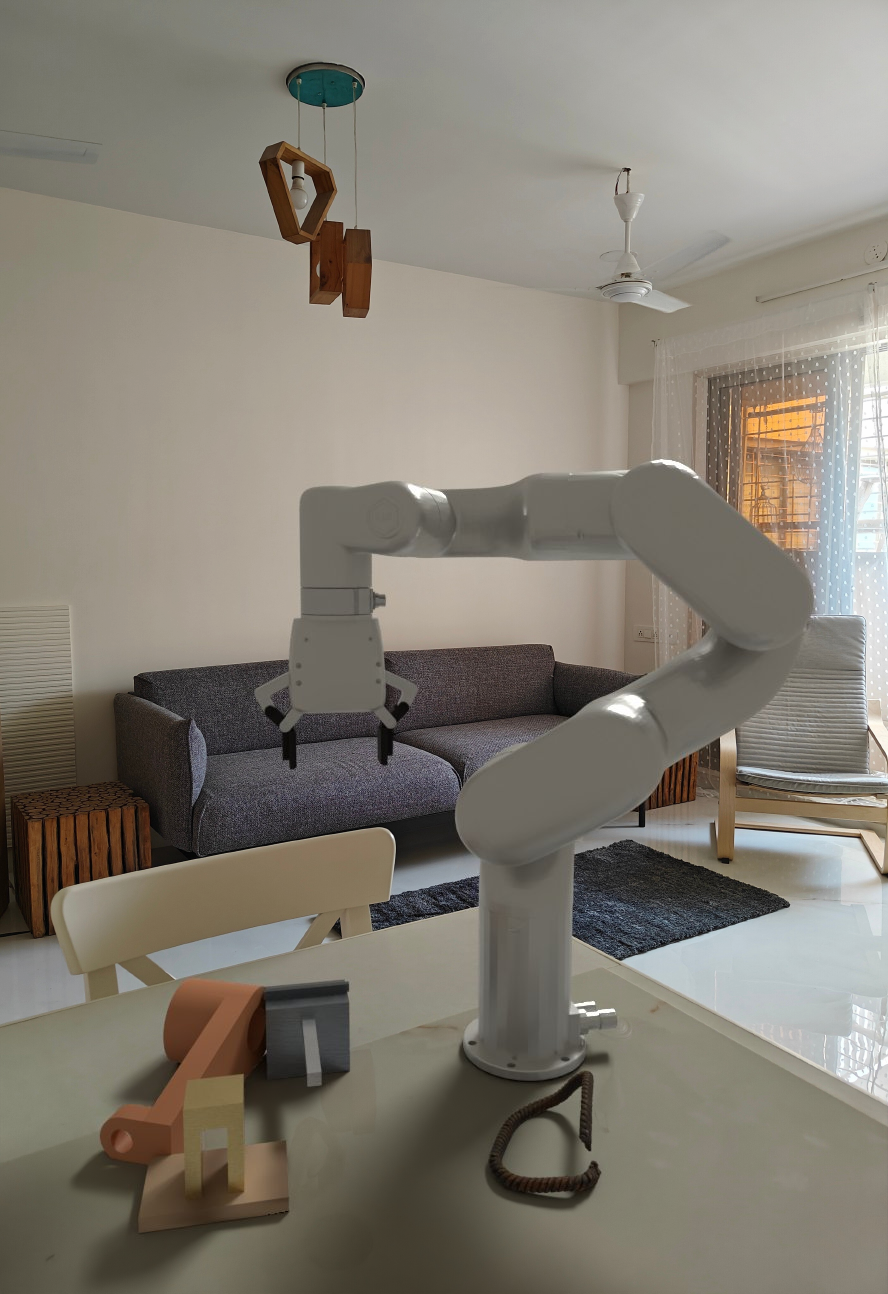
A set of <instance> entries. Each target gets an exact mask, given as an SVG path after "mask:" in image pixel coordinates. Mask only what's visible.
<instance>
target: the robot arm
mask: <svg viewBox="0 0 888 1294" xmlns="http://www.w3.org/2000/svg"><path fill="white" fill-rule="evenodd" d="M298 511H299V574H300V575H299V579H300V583H299V584H300V586H299V587H300V589H299V591H300V594H299V595H300V617H295V618H293V620H292V625H291V632H290V633H291V634H290V639H289V640H290V641H289V650H288V651H289V652H288V654H289V655H288V671H287V672H285V673H283V674H281V675H278V676H277V677H274V678H273V679H271V680H269V681H267V682H266V683H264V684H262V685H260V686H258V687H257V688H255V690H254V692H253V693H254V697H255V698H256V701H257V702H258V705H259V706H260V707H261V709H262V711H263V713H264V715H265V716H266V718H268V719H269V720H270V721H271V722H272V723H273V724H274V725H275V726H277V728H279V730H280V731H281V749H282V750H281V751H282V752H281V753H282V755H281V757H282V761H288V766H289V767H288V768H289V770H290V771H291V770H294V771H295V769H297V767H298V766H297V765H298V763H297V731H296V729H295V724H297V722H298V721H299V719H301V717H302V716H303V715H304V714H338V713H339V714H341V713H345V714H347V713H366V712H367V713H368V712H369V713H370V712H373V713H374V714H375V715H376V716H377V717H378V719H379V724H378V725H377V728H376V729H377V731H376V733H377V734H376V735H377V740H376V741H377V742H376V743H377V744H376V745H377V749H376V751H377V752H376V753H377V761H378V762H379V764H380V765H381V766H383V767H384V766H388V762H389V761H388V760H389V758H388V757H393V756H394V728H395V727H396V726H397V724H398V723H399V721H400V720H402V719H403V717H405V715H406V714H408V712H409V710H410V707H411V706H412V703H413V702H414V700H415V698H416V696H417V694H418V692H419V688H418V686H417V685H416V684H414V683H413V682H411V681H408V680H407V679H404V678H402V677H401V676H399V675H396V674H394V673H392V672H390V671H388V670H386V667H385V654H384V645H383V637H382V631H381V630H382V629H381V625H380V622H379V618H378V617H373V614H374V610H376V609H377V608H378V609H379V607H384V608H385V607H386V603H387V596H386V594H382V593H381V594H379V592H376V591H374V589H373V571H372V570H373V565H372V564H373V562H372V561H373V555H379V556H386V557H397V558H418V559H439V558H441V559H443V558H447V559H449V558H452V559H453V558H509V559H510V558H512V559H516V560H517V559H518V560H523V561H527V562H531V561H532V562H533V561H536V562H537V561H538V562H539V561H540V562H545V561H547V562H548V561H549V562H551V561H552V562H554V561H555V562H556V561H563V562H564V561H566V562H567V561H639V562H640V563H641V565H643V566H644V567H645V568H646V569H647V570H648V571H649V572H650V573H651V574H652V575H653V576H654V577H655V578H656V579H658V580H659V582H661V583H662V584H663V585H664V586H665V587H666V588H667V589H668V590H669V591H670V592H672V594H674V596H676V597H677V598H678V599H680V600H681V601H682V603H684V604H685V605H686V606H687V607H688V608H689V609H690V610H691V611H693V613H695V614H696V615H697V616H698V617H699V618H700V619H701V620H702V621H704V622H705V624H707V625H708V626H709V629H708V630H707V632H706V633H705V634H704V635H703V637H702V638H700V639H699V641H697V643H695V644H694V645H692V647H690V648H688V649H687V650H685V651H683V652H682V653H680V654H678V655H677V656H674V658H672V659H670V660H669V661H667V662H665V663H664V664H663V665H661V666H660V667H658V668H655V669H654V670H653V671H650V672H649V673H648V674H645V675H643V676H642V677H640V678H638V679H636V680H634V681H633V682H631V683H629V684H626V686H623V687H622V688H620V689H619V688H618V690H615V691H614V692H610V693H608V694H607V695H604V696H601V697H598V698H596V699H594V700H592V701H590V702H589V703H588V704H586V705H585V706H583V707H582V708H581V709H580V710H579V711H578V712H577V713H576V714H575V715H573V716H571V717H570V718H568V719H567V720H565V721H563V722H562V723H560V724H558V725H557V726H555V727H554V728H552V729H550V730H549V731H546V732H544V733H543V734H541V735H540V736H537V737H536V738H534V739H532V740H531V741H529V742H519V743H515V744H512V745H510V746H508V747H505V748H503V749H501V750H500V751H499V752H497V753H496V754H495V755H494V756H493V757H491V758H490V759H489V760H487V761H486V762H485V763H484V764H483V765H482V766H480V768H477V770H476V771H475V772H474V773H473V774H471V775H470V777H468V779H467V780H466V781H465V783H464V784H463V786H462V788H461V790H460V791H459V794H458V797H457V799H456V803H455V808H454V809H455V810H454V811H455V812H454V819H455V821H454V822H455V828H456V831H457V833H458V836H459V838H460V840H461V842H462V843H463V845H464V846H465V848H466V849H467V850H468V851H469V852H470V853H471V854H472V855H473V856H475V857H476V858H477V859H479V877H478V890H479V891H478V948H477V949H478V951H477V952H478V958H477V959H478V973H477V974H478V975H477V976H478V978H477V979H478V980H477V981H478V986H477V987H478V991H477V993H478V994H477V995H478V996H477V997H478V999H477V1000H478V1001H477V1003H478V1004H477V1009H478V1010H477V1017H476V1018H475V1019H473V1020H472V1021H471V1022H470V1023H469V1024H468V1025H467V1026H466V1028H465V1029H464V1031H463V1036H462V1043H463V1044H462V1048H463V1051H464V1053H465V1055H466V1057H467V1058H468V1060H469V1061H470V1062H471V1063H472V1064H474V1065H475V1066H476V1067H478V1068H479V1069H481V1070H483V1071H484V1072H487V1073H489V1074H491V1075H494V1076H496V1077H500V1078H504V1079H508V1080H516V1081H529V1082H532V1081H536V1082H537V1081H545V1080H551V1079H555V1078H559V1077H561V1076H565V1075H566V1074H569V1073H571V1072H572V1071H574V1070H576V1069H577V1068H578V1067H579V1066H580V1065H581V1064H582V1063H583V1061H584V1060H585V1058H586V1055H587V1039H586V1036H585V1035H588V1034H589V1031H593V1030H595V1031H596V1030H598V1031H600V1030H611V1029H612V1030H613V1029H616V1028H617V1026H618V1017H617V1013H616V1011H615V1009H614V1008H603V1009H597V1006H596V1003H595V1001H594V1000H591V1001H590V1000H589V1001H582V1002H576V1003H574V1001H573V1000H572V978H573V977H572V975H573V974H572V971H573V968H572V967H573V964H572V963H573V961H572V960H573V905H574V875H575V874H574V873H575V872H574V871H575V870H574V869H575V868H574V867H575V851H576V850H575V849H576V841H577V840H579V839H581V838H583V837H586V836H587V835H588V834H591V833H592V832H595V831H597V830H598V829H600V828H602V827H605V826H606V825H608V824H610V823H612V822H614V821H616V820H618V819H620V818H621V817H623V816H625V815H626V814H628V813H630V812H632V811H633V810H635V808H637V807H639V806H640V805H641V804H642V803H644V802H645V801H646V800H647V799H648V798H649V797H650V796H651V795H652V794H653V793H654V792H655V790H656V789H657V787H658V785H659V784H660V782H661V780H662V778H663V775H664V772H665V771H666V770H667V769H669V767H671V766H672V765H674V764H675V763H678V762H680V761H681V760H683V759H684V758H686V757H688V756H690V755H692V754H693V753H695V752H697V751H699V750H701V749H703V748H705V747H706V746H708V745H710V744H711V743H713V742H715V741H716V740H718V739H719V738H722V737H723V736H725V735H727V734H728V733H730V732H732V731H733V730H734V729H737V728H738V727H740V726H741V725H743V724H744V723H747V722H748V721H749V720H751V719H753V717H755V716H756V715H757V714H759V713H760V712H761V711H762V710H764V708H765V707H766V706H768V704H770V702H772V700H773V699H774V698H775V697H776V696H777V695H778V693H780V691H781V689H782V688H783V687H784V685H785V684H786V682H787V681H788V678H789V676H790V675H791V672H792V671H793V669H794V666H795V664H796V661H797V659H798V656H799V654H800V649H801V645H802V639H803V635H804V634H803V632H804V629H805V628H806V626H807V624H808V623H809V621H810V619H811V616H812V613H813V609H814V601H815V599H814V591H813V587H812V583H811V581H810V579H809V577H808V575H807V573H806V572H805V570H804V569H803V568H802V567H801V565H800V564H799V563H798V562H796V560H795V559H793V557H791V556H790V555H789V554H788V553H787V552H786V551H784V549H782V547H780V546H778V545H777V544H776V543H775V542H774V541H773V540H771V539H770V538H769V537H768V536H767V535H766V534H764V532H762V530H760V529H759V528H758V527H757V526H755V525H754V524H753V523H752V522H751V521H750V520H749V519H747V518H746V517H745V516H744V515H743V514H741V513H740V512H739V511H738V510H737V509H735V507H733V506H732V505H731V504H730V503H729V502H728V501H726V499H724V498H723V496H721V495H720V494H719V493H718V492H717V491H716V490H714V488H712V486H711V485H709V483H708V482H707V481H705V480H704V479H703V478H702V476H700V475H699V474H698V473H697V472H695V471H694V470H693V469H692V468H691V467H689V466H687V465H685V464H683V463H681V462H677V461H674V460H671V459H670V460H669V459H656V460H650V461H646V462H642V463H640V464H638V465H636V466H634V467H633V468H631V469H620V470H619V469H618V470H603V471H598V470H597V471H567V472H566V471H564V472H563V471H561V472H560V471H559V472H553V471H552V472H538V473H535V474H531V475H527V476H525V477H523V478H521V479H519V480H518V481H516V482H513V483H510V484H506V485H500V486H493V487H492V486H491V487H479V488H478V487H477V488H476V487H475V488H446V489H445V488H444V489H443V488H440V489H438V488H433V489H432V488H429V487H425V486H422V485H419V484H416V483H409V482H406V481H401V480H388V481H380V482H376V483H370V484H365V485H359V486H348V485H347V486H346V485H321V486H320V485H319V486H313V487H310V488H307V489H305V490H304V491H303V492H302V494H301V496H300V498H299V510H298ZM387 685H389V686H391V687H393V688H394V689H396V690H399V691H400V692H401V695H400V697H399V699H398V701H397V702H396V703H395V704H394V705H393V706H392V707H391V708H390V709H389V710H388V709H387V708H386V707H385V704H386V699H387V698H386V697H387V696H386V695H387V687H386V686H387ZM285 688H288V699H289V701H288V702H289V703H290V706H289V707H288V708H287V710H286V711H285V712H284V713H283V712H282V711H281V710H280V709H278V707H276V706H275V704H274V703H273V700H272V699H271V697H272V696H273V695H274V694H276V693H278V692H279V691H281V690H283V689H285Z"/></svg>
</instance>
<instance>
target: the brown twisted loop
mask: <svg viewBox="0 0 888 1294" xmlns="http://www.w3.org/2000/svg"><path fill="white" fill-rule="evenodd" d="M594 1080H595V1079H594V1074H593V1073H592V1072H591V1071H590V1070H581V1071H579V1072H578V1073H576V1074H574V1075H573V1076H571V1077H570V1078H569V1079H567V1081H566V1082H565V1083H564V1085H563V1086H561V1087H560V1089H558V1090H557V1091H555V1092H554V1093H551V1094H549V1095H547V1096H545V1097H543V1098H539V1099H538V1100H535V1101H533V1103H532V1102H531V1103H528V1104H527V1105H524V1106H523V1107H521V1108H519V1109H518V1110H515V1112H514V1113H512V1114H511V1115H510V1116H509V1117H508V1118H507V1119H506V1120H505V1121H504V1123H503V1125H502V1127H501V1128H500V1130H499V1133H498V1134H497V1136H496V1138H495V1140H494V1143H493V1146H492V1147H491V1150H490V1153H489V1159H488V1163H489V1167H490V1170H491V1173H492V1174H493V1176H494V1178H495V1179H496V1180H497V1181H498V1182H499V1183H500V1184H503V1186H504V1187H507V1188H509V1189H510V1190H513V1191H518V1192H523V1193H531V1194H535V1193H536V1194H548V1193H551V1194H552V1193H553V1194H554V1193H561V1192H564V1193H567V1192H571V1193H572V1192H573V1193H574V1192H581V1191H583V1190H587V1189H589V1188H590V1187H592V1186H594V1185H595V1184H596V1183H597V1181H598V1180H599V1177H600V1175H601V1174H602V1171H601V1170H600V1169H599V1163H598V1162H597V1161H596V1160H594V1159H593V1160H591V1162H590V1163H589V1165H588V1168H587V1170H586V1171H584V1172H583V1173H582V1174H577V1175H572V1176H569V1175H563V1176H552V1177H550V1176H546V1177H544V1176H541V1177H537V1176H536V1177H535V1176H534V1177H532V1176H531V1177H530V1176H524V1175H523V1176H522V1175H519V1174H515V1173H513V1172H511V1171H510V1170H509V1169H507V1168H506V1167H505V1166H504V1163H503V1155H504V1153H505V1150H506V1149H507V1147H508V1144H509V1142H510V1140H511V1138H512V1136H513V1134H514V1132H515V1131H516V1129H517V1128H518V1127H519V1126H520V1125H521V1124H522V1123H523V1122H524V1121H526V1120H527V1119H529V1118H531V1117H535V1115H538V1114H539V1113H542V1112H544V1111H546V1110H549V1109H552V1108H554V1107H557V1106H559V1105H560V1104H562V1103H564V1102H565V1101H567V1100H568V1099H569V1098H570V1097H571V1096H572V1095H573V1094H574V1093H575V1092H576V1091H577V1090H578V1089H580V1088H581V1091H580V1093H581V1095H580V1111H579V1129H578V1132H579V1134H578V1139H579V1140H580V1141H581V1142H582V1143H583V1144H584V1148H585V1149H586V1150H587V1151H588V1152H592V1144H593V1143H592V1142H593V1139H592V1136H593V1133H592V1132H593V1098H594V1095H593V1094H594V1082H595V1081H594Z"/></svg>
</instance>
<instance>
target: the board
mask: <svg viewBox="0 0 888 1294" xmlns="http://www.w3.org/2000/svg"><path fill="white" fill-rule="evenodd" d="M287 1149H288V1148H287V1140H279V1141H278V1140H277V1141H269V1142H268V1141H267V1142H261V1143H254V1144H245V1191H244V1192H238V1193H231V1194H229V1193H228V1147H223V1148H222V1147H221V1148H213V1149H206V1150H205V1149H204V1152H205V1167H204V1177H203V1188H202V1197H201V1198H194V1199H187V1200H185V1164H184V1153H181V1154H173V1155H165V1156H157V1157H150V1158H149V1164H148V1165H147V1169H146V1175H145V1181H144V1185H143V1191H142V1197H141V1201H140V1208H139V1213H138V1217H137V1219H138V1234H141V1233H142V1234H143V1233H150V1232H157V1231H164V1230H170V1229H178V1228H185V1227H191V1226H192V1227H193V1226H199V1225H207V1224H213V1223H220V1222H226V1221H235V1220H241V1219H248V1218H255V1217H256V1218H257V1217H263V1216H268V1214H270V1215H276V1214H275V1213H277V1214H280V1213H279V1212H284V1213H286V1212H285V1211H289V1212H290V1195H289V1193H290V1192H289V1172H288V1153H287Z"/></svg>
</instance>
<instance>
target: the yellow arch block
mask: <svg viewBox="0 0 888 1294" xmlns="http://www.w3.org/2000/svg"><path fill="white" fill-rule="evenodd" d="M245 1120H246V1119H245V1080H244V1074H240V1075H231V1076H222V1077H213V1078H204V1079H195V1080H187V1086H186V1093H185V1100H184V1107H183V1124H184V1164H185V1200H187V1199H194V1198H201V1197H202V1188H203V1177H204V1167H205V1152H204V1151H205V1130H207V1131H208V1130H213V1129H214V1130H215V1129H223V1128H226V1131H227V1132H226V1133H227V1137H226V1139H227V1143H226V1145H227V1148H228V1193H229V1194H231V1193H238V1192H244V1191H245V1145H246V1134H245V1133H246V1132H245V1131H246V1129H245V1128H246V1127H245V1124H246V1123H245Z"/></svg>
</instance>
